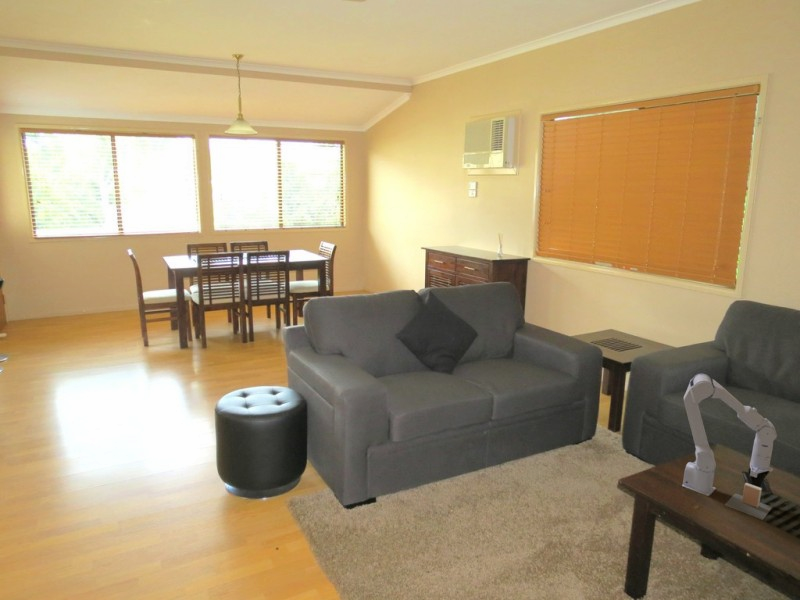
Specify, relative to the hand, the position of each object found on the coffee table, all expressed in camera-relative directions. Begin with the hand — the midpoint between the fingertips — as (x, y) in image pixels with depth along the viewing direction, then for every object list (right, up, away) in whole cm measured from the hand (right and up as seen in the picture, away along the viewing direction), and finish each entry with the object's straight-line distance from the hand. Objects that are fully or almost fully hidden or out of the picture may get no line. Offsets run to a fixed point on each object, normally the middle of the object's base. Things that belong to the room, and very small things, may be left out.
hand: (755, 488), depth 203 cm
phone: (+8, -3, +13) cm, 16 cm away
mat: (-5, -6, -3) cm, 8 cm away
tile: (-3, -5, -2) cm, 6 cm away
